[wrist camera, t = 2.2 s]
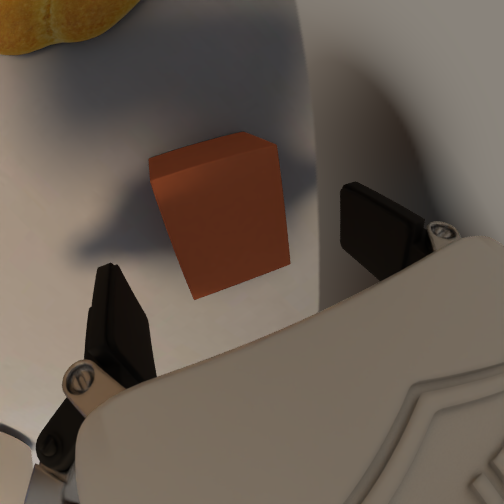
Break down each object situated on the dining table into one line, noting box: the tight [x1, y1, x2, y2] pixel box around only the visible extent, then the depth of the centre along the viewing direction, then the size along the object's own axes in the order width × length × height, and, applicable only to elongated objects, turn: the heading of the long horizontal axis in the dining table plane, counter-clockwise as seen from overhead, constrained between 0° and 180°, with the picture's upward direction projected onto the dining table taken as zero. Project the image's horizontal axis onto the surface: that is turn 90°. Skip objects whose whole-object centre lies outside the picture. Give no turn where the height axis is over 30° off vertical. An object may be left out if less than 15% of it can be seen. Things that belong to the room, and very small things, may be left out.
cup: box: [0, 432, 33, 504], centre depth 13 cm, size 8×8×14 cm
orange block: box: [149, 132, 290, 300], centre depth 13 cm, size 5×6×4 cm
